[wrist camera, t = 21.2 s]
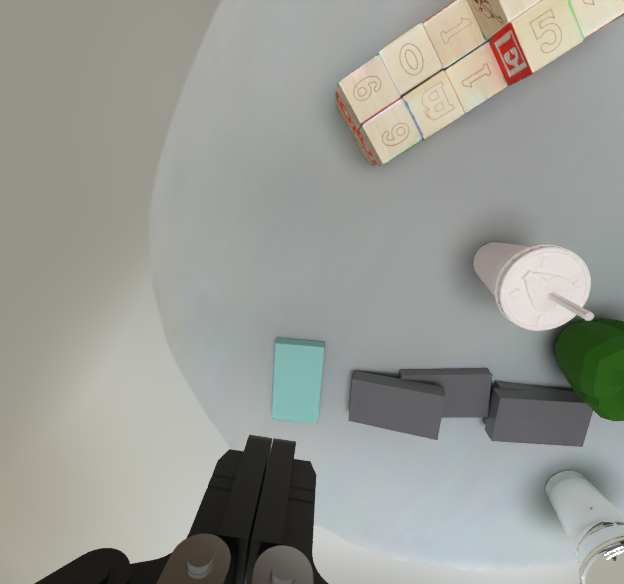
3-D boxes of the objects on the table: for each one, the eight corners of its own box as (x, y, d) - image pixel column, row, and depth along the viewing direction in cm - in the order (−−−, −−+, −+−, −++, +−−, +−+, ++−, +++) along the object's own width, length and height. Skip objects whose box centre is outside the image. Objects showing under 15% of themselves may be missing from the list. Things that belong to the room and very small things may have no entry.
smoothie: (493, 305, 38) (579, 377, 25) (444, 267, 37) (505, 320, 24) (542, 254, 37) (662, 302, 23) (491, 213, 36) (586, 237, 22)
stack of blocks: (369, 167, 35) (387, 165, 24) (334, 103, 34) (334, 67, 22) (603, 21, 31) (769, -71, 19) (574, -60, 30) (734, -211, 18)
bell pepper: (574, 290, 38) (656, 331, 28) (643, 328, 38) (747, 379, 29) (521, 359, 40) (581, 418, 30) (588, 393, 41) (666, 461, 31)
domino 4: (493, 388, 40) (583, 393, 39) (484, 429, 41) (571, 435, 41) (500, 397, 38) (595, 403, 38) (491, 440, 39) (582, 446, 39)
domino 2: (355, 370, 41) (444, 387, 39) (351, 410, 43) (436, 428, 40) (352, 379, 39) (445, 396, 37) (348, 420, 41) (437, 440, 39)
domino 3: (398, 367, 41) (485, 365, 41) (397, 407, 43) (481, 407, 42) (401, 375, 40) (491, 374, 39) (400, 417, 41) (487, 417, 41)
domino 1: (274, 409, 44) (277, 335, 41) (318, 413, 44) (324, 340, 41) (271, 418, 42) (275, 343, 39) (317, 423, 42) (324, 347, 39)
